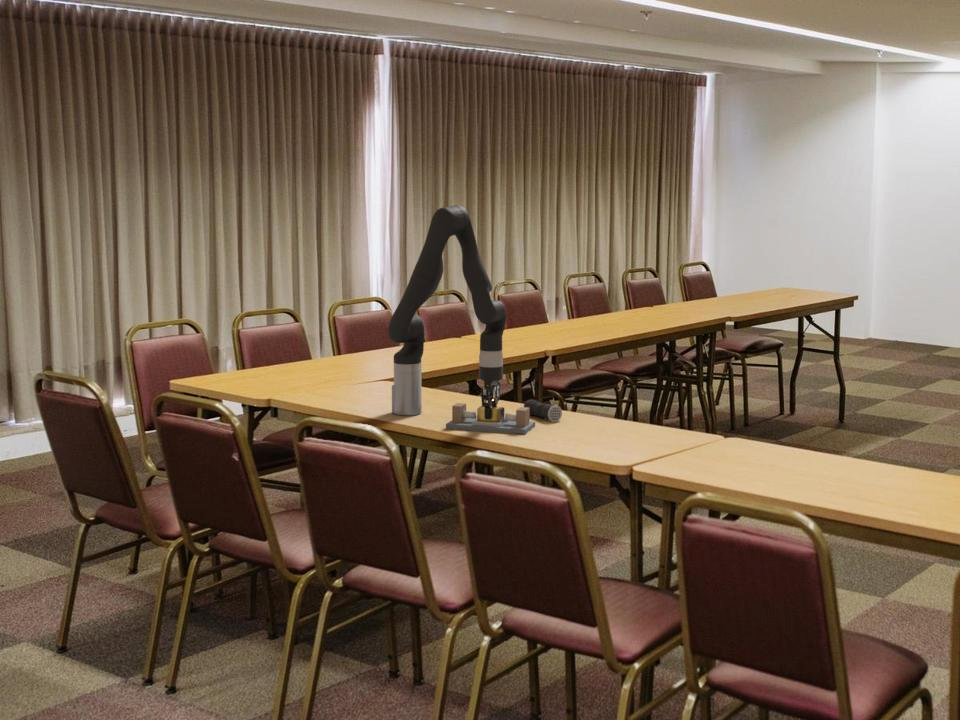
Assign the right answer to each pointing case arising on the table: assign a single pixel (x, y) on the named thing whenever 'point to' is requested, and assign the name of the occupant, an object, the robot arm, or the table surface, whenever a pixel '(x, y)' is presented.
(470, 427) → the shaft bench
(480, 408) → the coupler
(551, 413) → the flashlight
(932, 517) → the table surface
